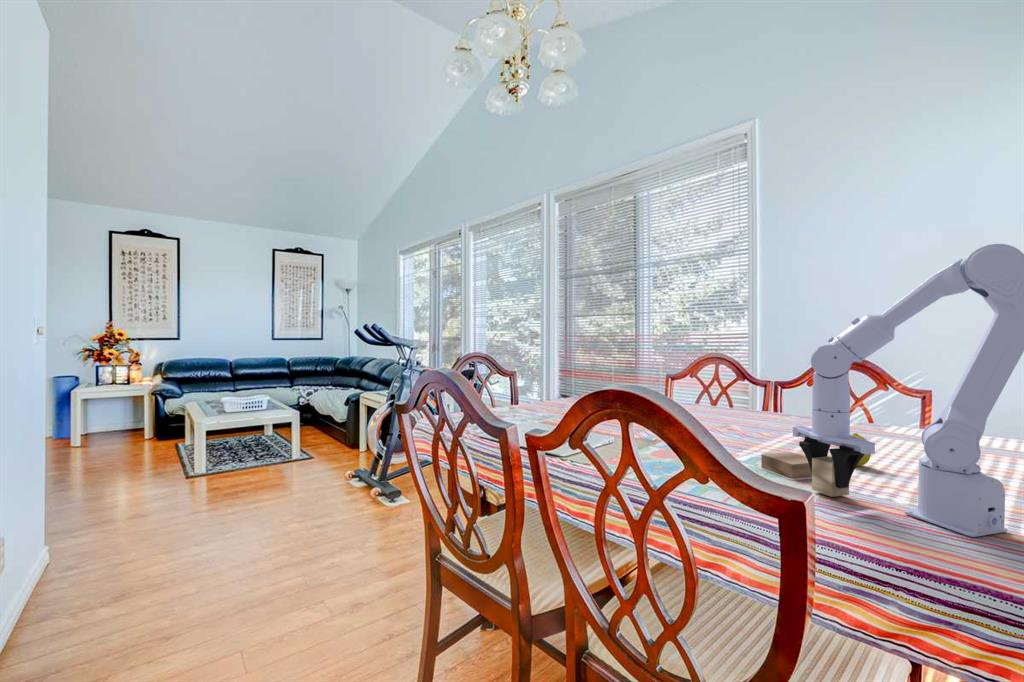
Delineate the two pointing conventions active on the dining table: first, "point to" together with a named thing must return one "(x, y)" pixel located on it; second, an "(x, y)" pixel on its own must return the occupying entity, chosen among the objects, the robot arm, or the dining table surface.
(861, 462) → the lemon
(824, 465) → the maple pillar
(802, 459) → the walnut slab
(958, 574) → the dining table surface
